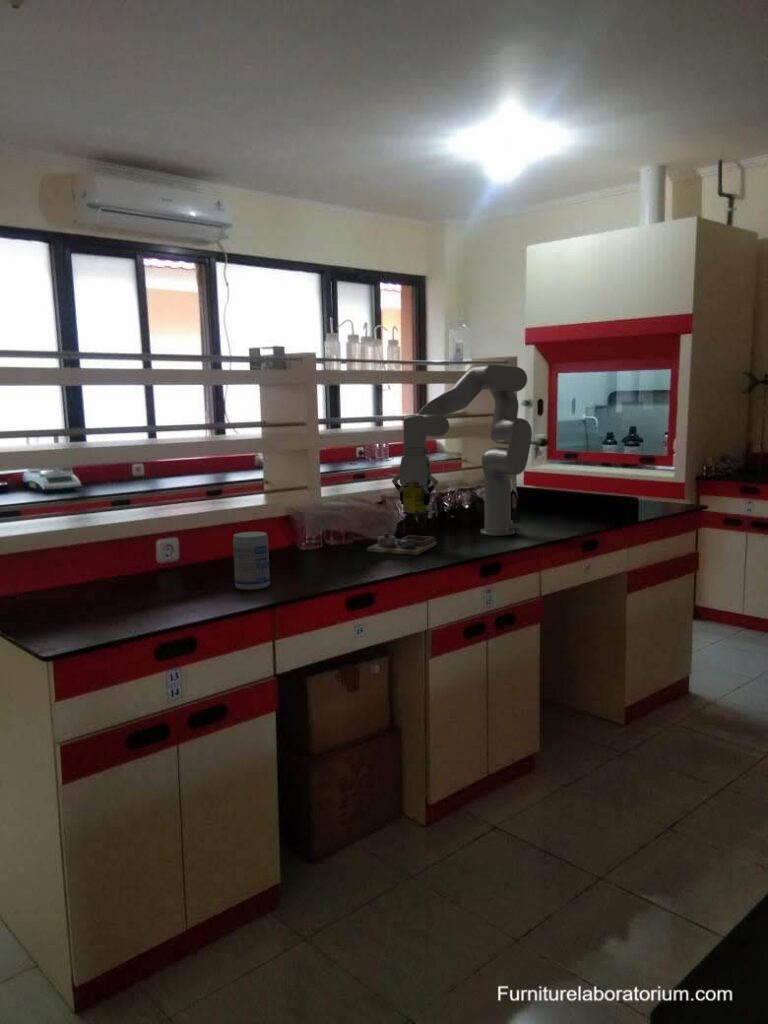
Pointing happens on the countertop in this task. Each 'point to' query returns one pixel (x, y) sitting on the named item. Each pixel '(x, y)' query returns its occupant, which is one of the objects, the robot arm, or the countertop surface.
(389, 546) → the carrier board
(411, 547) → the seated puck
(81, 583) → the countertop surface
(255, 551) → the supplement tub
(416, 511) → the supplement box
